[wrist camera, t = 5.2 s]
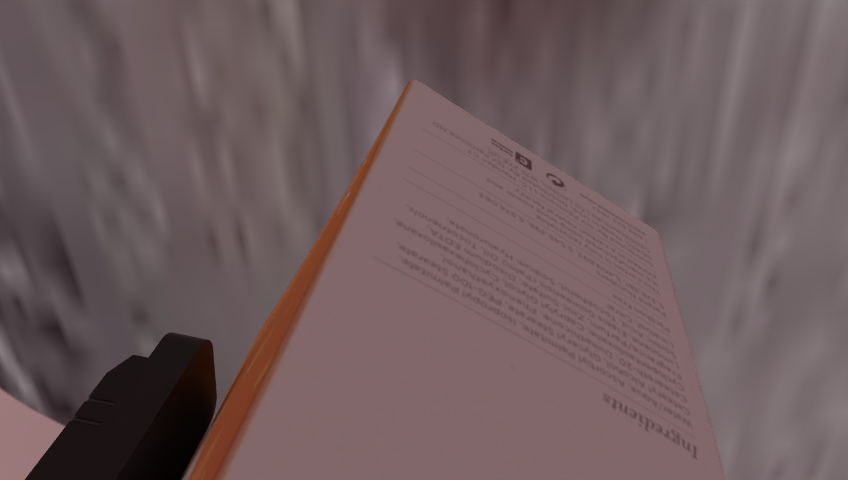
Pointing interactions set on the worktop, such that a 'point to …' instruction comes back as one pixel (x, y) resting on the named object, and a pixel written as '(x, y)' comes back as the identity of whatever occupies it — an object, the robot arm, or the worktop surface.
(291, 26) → the worktop surface
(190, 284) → the worktop surface
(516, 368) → the small box
